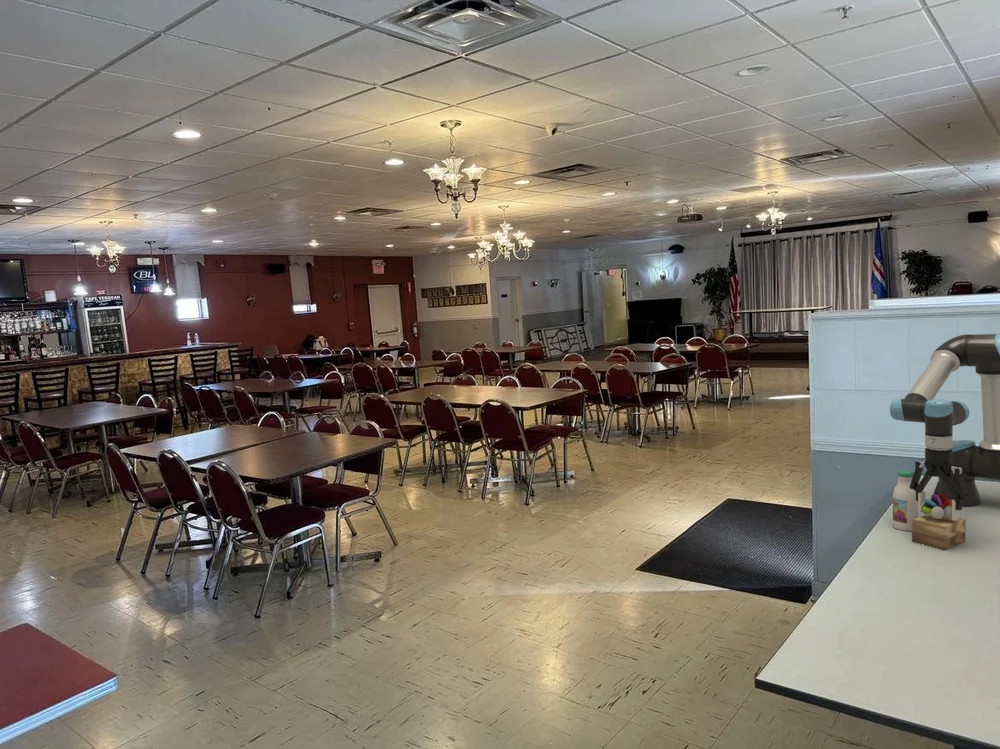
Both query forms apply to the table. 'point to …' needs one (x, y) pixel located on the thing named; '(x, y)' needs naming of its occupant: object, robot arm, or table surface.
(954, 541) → the tower base
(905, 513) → the milk bottle
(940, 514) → the multicoloured petal toy
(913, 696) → the table surface
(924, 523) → the tower top
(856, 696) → the table surface
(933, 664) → the table surface
